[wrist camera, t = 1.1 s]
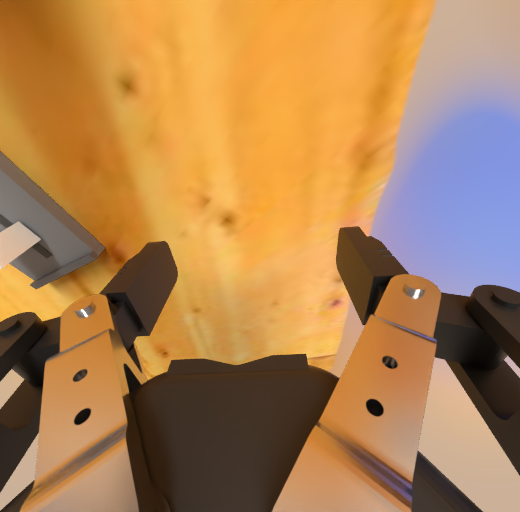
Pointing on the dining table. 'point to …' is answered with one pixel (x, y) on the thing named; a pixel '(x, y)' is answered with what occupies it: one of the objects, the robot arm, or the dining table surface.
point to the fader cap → (15, 242)
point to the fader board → (43, 228)
